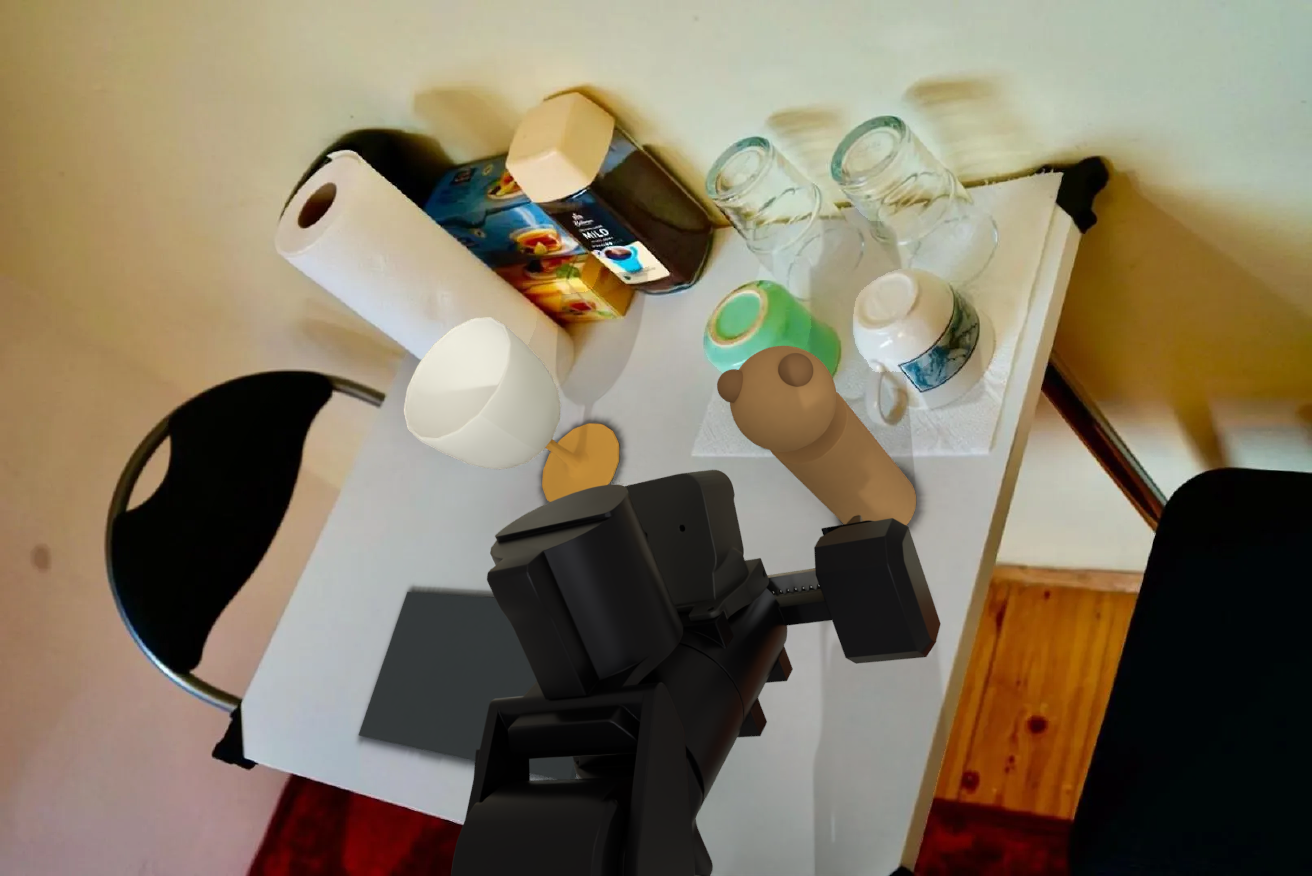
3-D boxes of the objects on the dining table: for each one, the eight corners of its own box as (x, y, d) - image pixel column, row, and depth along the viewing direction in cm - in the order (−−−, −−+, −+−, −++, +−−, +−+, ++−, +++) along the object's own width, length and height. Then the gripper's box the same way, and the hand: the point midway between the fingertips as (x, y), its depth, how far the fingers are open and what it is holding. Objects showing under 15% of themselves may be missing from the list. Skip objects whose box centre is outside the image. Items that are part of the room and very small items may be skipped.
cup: (597, 390, 88) (480, 293, 76) (653, 456, 80) (532, 359, 68) (515, 475, 89) (387, 392, 77) (563, 548, 81) (428, 469, 69)
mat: (616, 607, 75) (612, 605, 74) (574, 782, 69) (569, 781, 69) (411, 593, 90) (407, 591, 89) (363, 736, 84) (358, 735, 84)
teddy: (924, 539, 63) (807, 405, 48) (838, 551, 66) (704, 429, 52) (919, 458, 66) (808, 310, 51) (837, 473, 69) (711, 338, 55)
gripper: (824, 490, 32) (900, 366, 45) (448, 564, 41) (602, 443, 55) (915, 749, 35) (962, 559, 48) (540, 764, 44) (666, 602, 57)
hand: (784, 536), depth 52 cm, fingers open, 9 cm apart
